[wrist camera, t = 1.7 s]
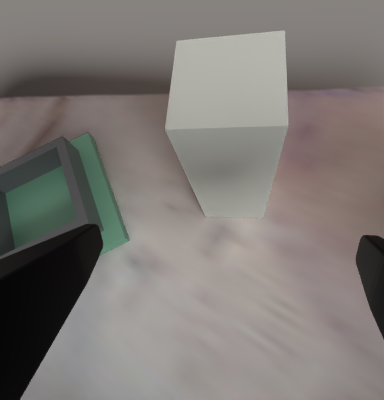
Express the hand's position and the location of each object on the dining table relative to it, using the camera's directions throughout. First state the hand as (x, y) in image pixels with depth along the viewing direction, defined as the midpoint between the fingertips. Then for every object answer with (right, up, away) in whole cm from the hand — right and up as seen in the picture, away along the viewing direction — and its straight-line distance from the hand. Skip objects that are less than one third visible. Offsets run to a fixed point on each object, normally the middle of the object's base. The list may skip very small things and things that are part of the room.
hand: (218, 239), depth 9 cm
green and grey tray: (-14, 0, +16) cm, 22 cm away
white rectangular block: (+3, +2, +14) cm, 14 cm away
